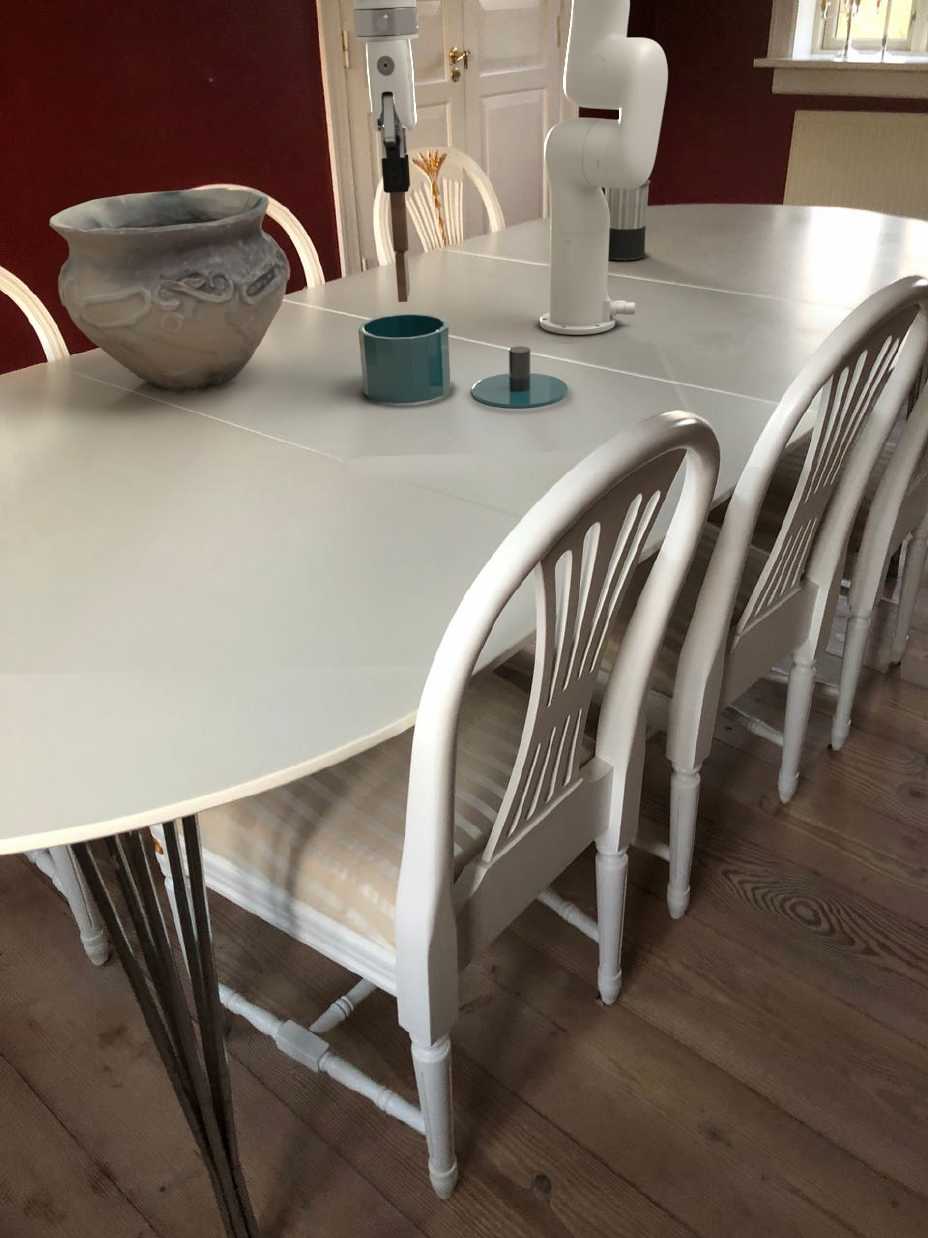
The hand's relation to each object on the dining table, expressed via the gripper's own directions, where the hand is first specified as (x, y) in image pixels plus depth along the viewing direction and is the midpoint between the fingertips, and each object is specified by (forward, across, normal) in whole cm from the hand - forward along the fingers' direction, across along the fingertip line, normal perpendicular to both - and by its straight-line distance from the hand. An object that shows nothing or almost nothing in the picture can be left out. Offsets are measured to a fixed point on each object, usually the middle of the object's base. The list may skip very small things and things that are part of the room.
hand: (397, 188), depth 134 cm
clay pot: (+28, +10, +34) cm, 44 cm away
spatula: (+14, 0, 0) cm, 14 cm away
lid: (+27, -2, -16) cm, 31 cm away
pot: (+27, +1, 0) cm, 27 cm away
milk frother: (+28, +80, -36) cm, 92 cm away
